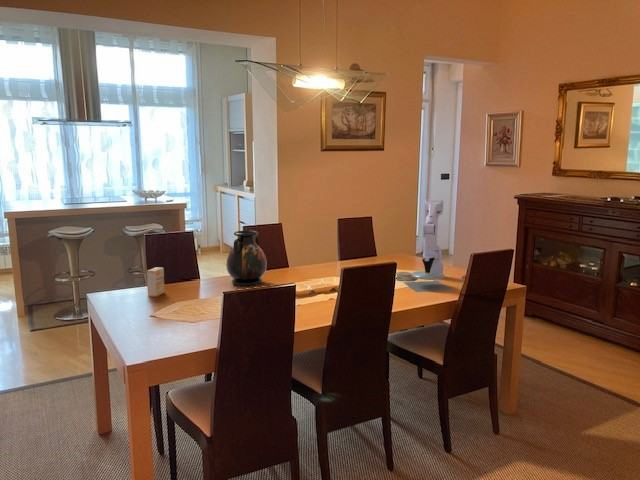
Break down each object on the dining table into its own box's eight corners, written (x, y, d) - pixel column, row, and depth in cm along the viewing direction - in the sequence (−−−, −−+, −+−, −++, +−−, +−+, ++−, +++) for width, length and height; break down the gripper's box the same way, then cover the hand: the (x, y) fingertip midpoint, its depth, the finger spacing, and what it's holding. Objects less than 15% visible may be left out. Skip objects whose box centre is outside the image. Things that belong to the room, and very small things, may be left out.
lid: (414, 271, 279) (414, 260, 278) (446, 273, 273) (446, 263, 272) (408, 278, 263) (409, 267, 262) (442, 281, 258) (443, 269, 257)
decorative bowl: (422, 279, 288) (399, 275, 297) (422, 272, 287) (399, 268, 296) (409, 284, 276) (385, 280, 285) (410, 278, 276) (385, 273, 285)
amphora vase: (249, 290, 261) (248, 236, 256) (218, 285, 272) (216, 232, 267) (275, 281, 279) (274, 231, 274) (244, 277, 290) (243, 228, 286)
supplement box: (156, 297, 248) (155, 270, 246) (147, 296, 249) (146, 270, 247) (165, 292, 256) (164, 267, 254) (156, 292, 257) (155, 266, 255)
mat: (437, 281, 281) (437, 280, 281) (453, 290, 261) (453, 290, 261) (402, 283, 277) (402, 282, 277) (416, 292, 258) (416, 291, 258)
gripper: (435, 249, 258) (434, 275, 260) (438, 244, 271) (437, 269, 273) (421, 248, 260) (420, 274, 262) (425, 243, 273) (424, 268, 276)
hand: (428, 272), depth 268 cm, fingers closed on lid, 3 cm apart
